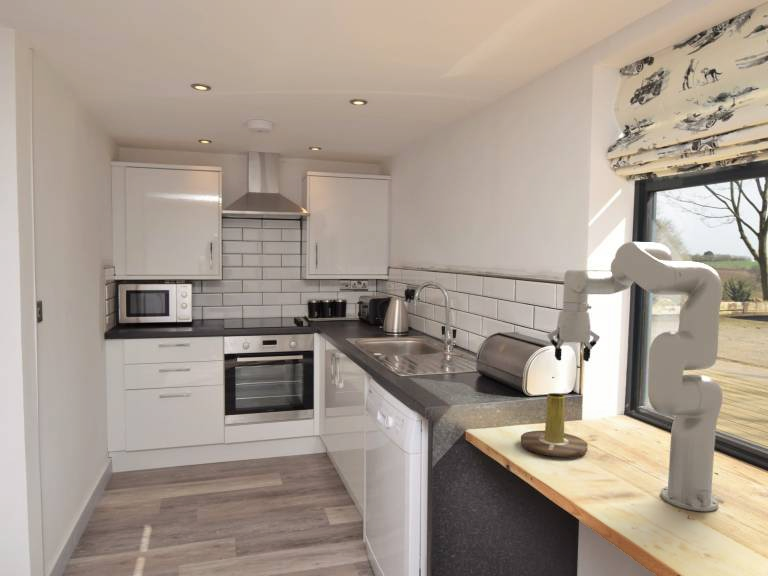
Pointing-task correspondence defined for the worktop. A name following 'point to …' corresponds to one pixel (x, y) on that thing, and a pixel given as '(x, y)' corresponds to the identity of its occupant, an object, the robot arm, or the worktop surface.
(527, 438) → the turntable
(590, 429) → the worktop surface
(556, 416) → the vase
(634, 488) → the worktop surface
